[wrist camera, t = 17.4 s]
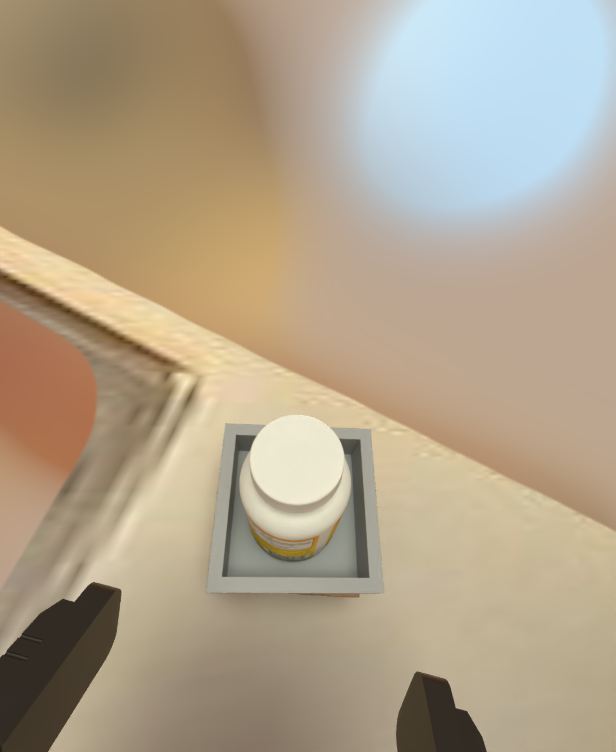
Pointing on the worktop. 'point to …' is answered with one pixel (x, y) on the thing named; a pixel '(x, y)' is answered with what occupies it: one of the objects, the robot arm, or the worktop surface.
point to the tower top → (318, 574)
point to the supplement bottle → (295, 487)
